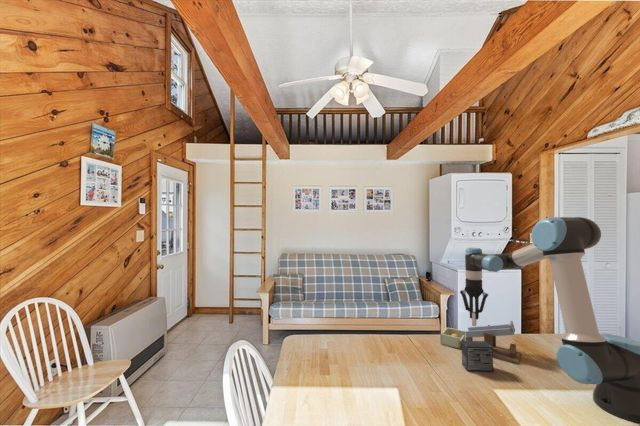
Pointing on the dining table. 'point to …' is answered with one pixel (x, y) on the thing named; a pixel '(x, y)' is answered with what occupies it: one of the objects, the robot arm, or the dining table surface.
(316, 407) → the dining table surface
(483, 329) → the lever
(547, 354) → the dining table surface
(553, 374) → the dining table surface
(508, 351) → the stand
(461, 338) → the dish
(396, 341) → the dining table surface
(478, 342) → the small box
